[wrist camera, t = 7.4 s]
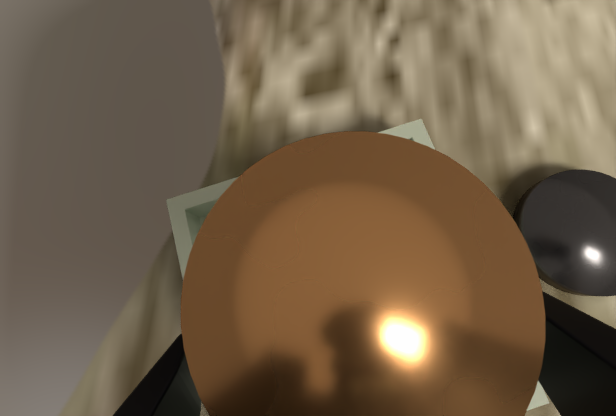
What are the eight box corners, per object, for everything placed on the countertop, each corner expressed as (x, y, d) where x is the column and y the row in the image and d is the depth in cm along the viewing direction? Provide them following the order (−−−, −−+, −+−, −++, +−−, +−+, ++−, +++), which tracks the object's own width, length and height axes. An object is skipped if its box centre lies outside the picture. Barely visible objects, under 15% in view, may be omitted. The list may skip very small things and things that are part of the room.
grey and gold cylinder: (418, 300, 17) (651, 324, 5) (330, 379, 16) (335, 644, 4) (342, 214, 18) (370, 60, 6) (257, 284, 17) (99, 269, 5)
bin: (515, 385, 16) (549, 403, 13) (245, 475, 16) (230, 509, 13) (409, 140, 19) (421, 118, 17) (186, 211, 19) (166, 199, 17)
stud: (667, 273, 17) (688, 272, 16) (548, 312, 17) (561, 314, 16) (601, 161, 18) (616, 154, 17) (492, 196, 18) (501, 191, 17)
